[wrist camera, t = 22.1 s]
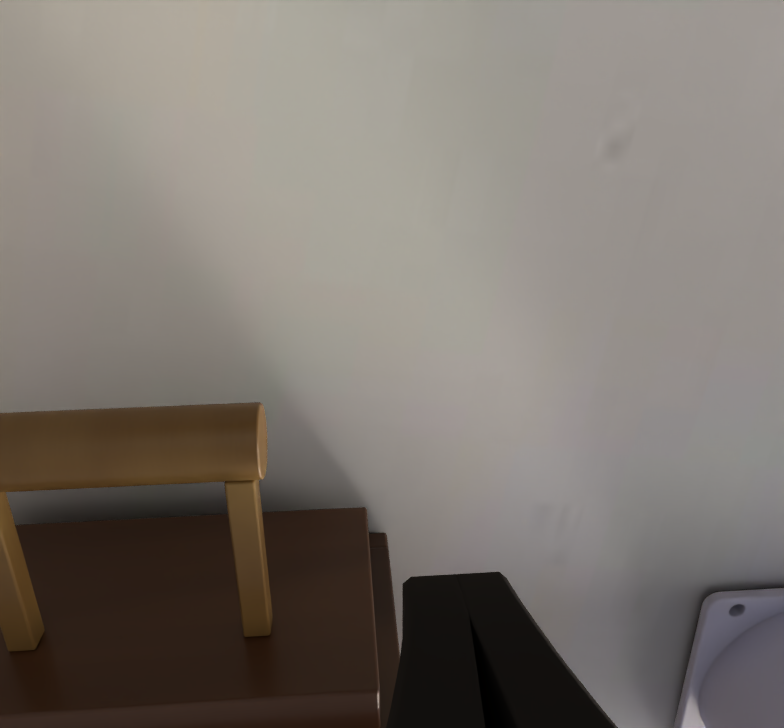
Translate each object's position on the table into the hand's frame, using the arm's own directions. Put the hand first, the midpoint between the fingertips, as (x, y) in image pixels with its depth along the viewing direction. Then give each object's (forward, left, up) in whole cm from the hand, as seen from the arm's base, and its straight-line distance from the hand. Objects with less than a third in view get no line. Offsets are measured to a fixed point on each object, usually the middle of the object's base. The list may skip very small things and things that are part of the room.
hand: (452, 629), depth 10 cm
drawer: (+6, +8, -9) cm, 14 cm away
